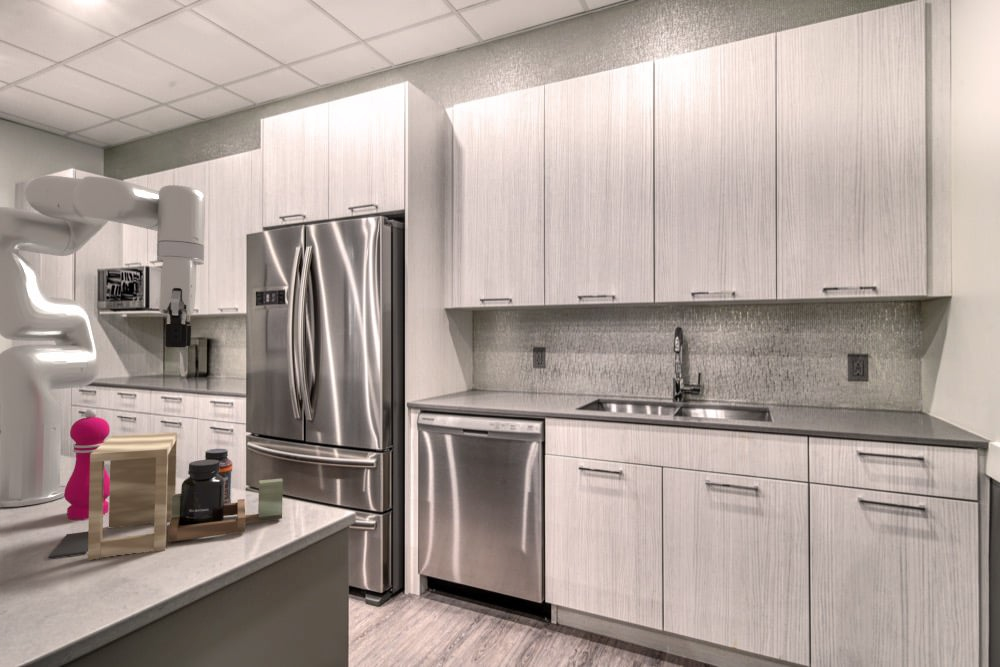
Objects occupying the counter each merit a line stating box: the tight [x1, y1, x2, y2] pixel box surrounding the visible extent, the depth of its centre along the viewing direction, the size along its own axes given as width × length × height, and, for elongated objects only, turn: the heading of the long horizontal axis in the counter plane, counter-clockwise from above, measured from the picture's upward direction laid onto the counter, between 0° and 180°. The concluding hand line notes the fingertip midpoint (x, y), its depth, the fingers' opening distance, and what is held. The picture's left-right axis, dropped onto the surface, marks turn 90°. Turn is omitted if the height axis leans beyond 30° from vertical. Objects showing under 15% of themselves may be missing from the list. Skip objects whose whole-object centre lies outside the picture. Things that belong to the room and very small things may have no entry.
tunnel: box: [87, 431, 178, 561], centre depth 91 cm, size 16×10×16 cm, turn 26°
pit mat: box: [47, 531, 88, 559], centre depth 87 cm, size 10×5×1 cm, turn 26°
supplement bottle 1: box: [180, 459, 225, 526], centre depth 95 cm, size 7×7×12 cm
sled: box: [167, 478, 284, 543], centre depth 97 cm, size 11×18×7 cm, turn 116°
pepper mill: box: [63, 408, 111, 520], centre depth 102 cm, size 7×7×20 cm
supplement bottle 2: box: [204, 448, 233, 504], centre depth 108 cm, size 6×6×11 cm
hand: (178, 346), depth 100 cm, fingers open, 9 cm apart
